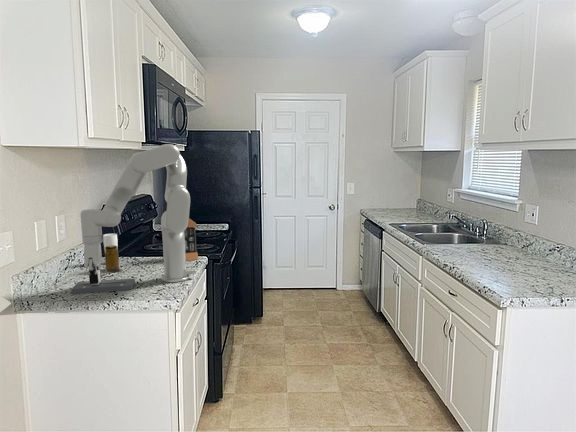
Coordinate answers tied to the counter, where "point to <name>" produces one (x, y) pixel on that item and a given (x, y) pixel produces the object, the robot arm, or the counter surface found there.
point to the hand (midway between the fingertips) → (95, 281)
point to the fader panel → (104, 286)
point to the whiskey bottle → (190, 241)
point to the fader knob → (98, 277)
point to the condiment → (112, 259)
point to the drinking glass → (110, 240)
